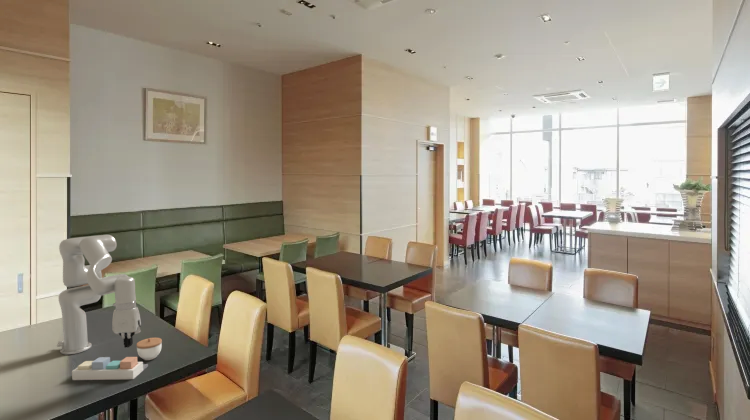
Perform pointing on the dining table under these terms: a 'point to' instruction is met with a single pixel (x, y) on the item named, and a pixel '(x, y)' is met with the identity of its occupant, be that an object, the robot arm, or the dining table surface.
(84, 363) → the key
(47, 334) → the dining table surface
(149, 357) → the lidded jar
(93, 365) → the key
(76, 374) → the keypad
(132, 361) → the key
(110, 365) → the key
